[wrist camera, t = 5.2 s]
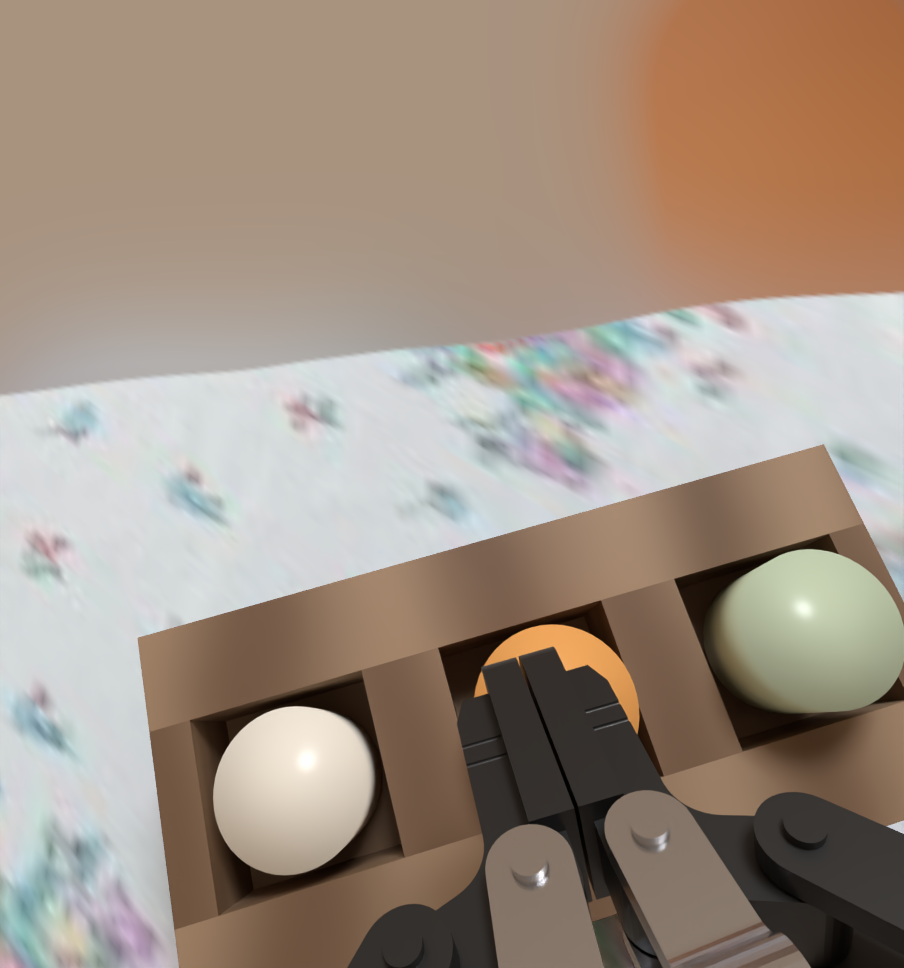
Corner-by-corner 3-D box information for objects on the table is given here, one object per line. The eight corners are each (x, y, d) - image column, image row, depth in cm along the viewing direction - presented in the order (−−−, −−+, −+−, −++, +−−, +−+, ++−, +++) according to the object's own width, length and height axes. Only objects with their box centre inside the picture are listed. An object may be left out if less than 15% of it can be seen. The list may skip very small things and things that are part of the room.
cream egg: (364, 693, 21) (348, 687, 19) (396, 831, 20) (384, 847, 17) (237, 730, 21) (201, 731, 18) (261, 872, 20) (227, 896, 17)
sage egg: (806, 558, 21) (858, 531, 18) (868, 691, 20) (936, 684, 17) (682, 594, 21) (716, 573, 18) (736, 732, 19) (783, 732, 16)
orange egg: (586, 622, 20) (605, 605, 18) (635, 763, 19) (664, 769, 16) (456, 661, 20) (453, 649, 17) (496, 806, 19) (501, 820, 16)
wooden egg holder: (721, 526, 30) (823, 444, 21) (827, 769, 26) (998, 789, 18) (237, 665, 28) (137, 638, 20) (285, 942, 25) (189, 1053, 16)
